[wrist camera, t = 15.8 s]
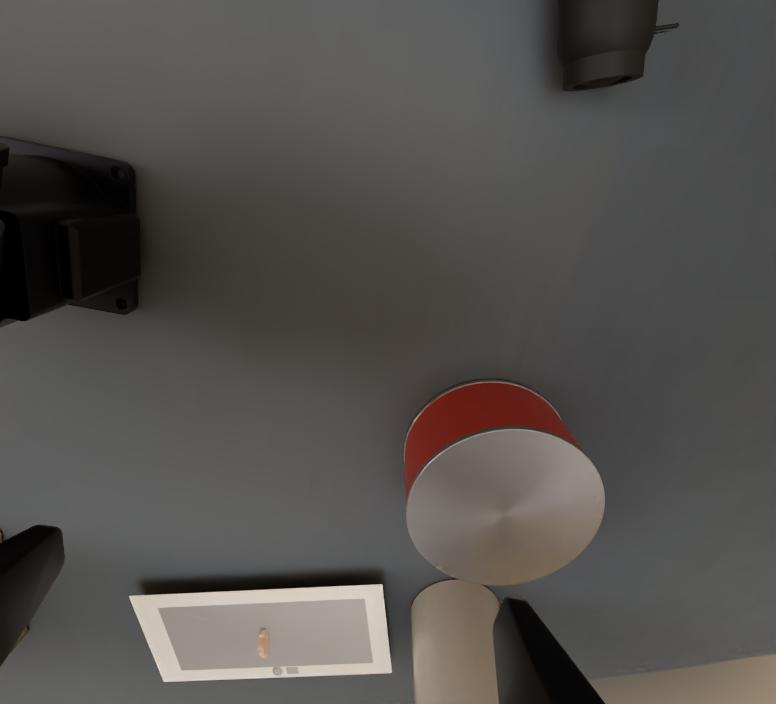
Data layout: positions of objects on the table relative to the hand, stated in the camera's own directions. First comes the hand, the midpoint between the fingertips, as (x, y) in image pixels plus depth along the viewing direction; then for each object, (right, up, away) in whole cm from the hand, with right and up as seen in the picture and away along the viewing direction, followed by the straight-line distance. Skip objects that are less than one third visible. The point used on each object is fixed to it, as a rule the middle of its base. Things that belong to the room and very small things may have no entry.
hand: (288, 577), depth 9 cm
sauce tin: (+7, -1, +14) cm, 16 cm away
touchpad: (-6, -12, +19) cm, 24 cm away
